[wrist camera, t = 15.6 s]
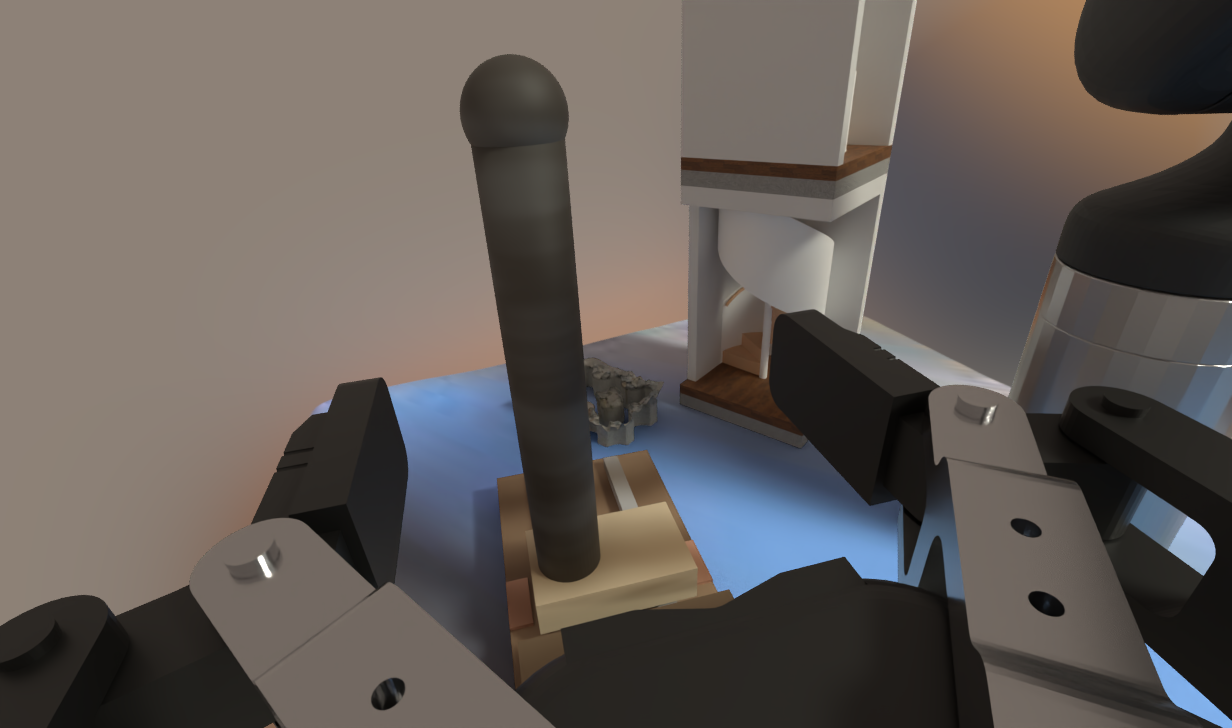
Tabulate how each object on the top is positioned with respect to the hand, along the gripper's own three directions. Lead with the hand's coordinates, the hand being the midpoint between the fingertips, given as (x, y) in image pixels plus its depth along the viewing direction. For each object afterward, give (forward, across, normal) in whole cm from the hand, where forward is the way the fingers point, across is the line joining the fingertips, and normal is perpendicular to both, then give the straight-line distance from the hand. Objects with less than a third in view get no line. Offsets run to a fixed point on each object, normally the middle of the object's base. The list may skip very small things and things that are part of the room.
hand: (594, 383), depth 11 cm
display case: (+29, -20, +22) cm, 42 cm away
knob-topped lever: (+11, -2, +18) cm, 21 cm away
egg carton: (+31, -5, +22) cm, 39 cm away
